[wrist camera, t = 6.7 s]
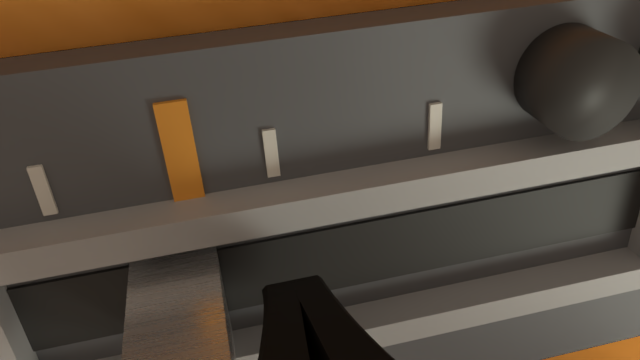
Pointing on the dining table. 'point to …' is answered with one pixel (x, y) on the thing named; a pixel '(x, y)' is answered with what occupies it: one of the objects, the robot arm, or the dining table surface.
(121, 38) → the dining table surface
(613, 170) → the console board
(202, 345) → the fader tab
